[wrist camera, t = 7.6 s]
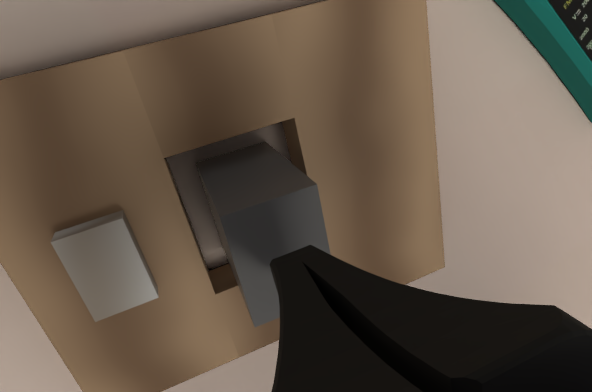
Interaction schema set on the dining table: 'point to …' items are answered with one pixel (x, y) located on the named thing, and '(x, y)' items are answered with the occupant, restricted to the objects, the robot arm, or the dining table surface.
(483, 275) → the dining table surface
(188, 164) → the dining table surface
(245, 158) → the grey block
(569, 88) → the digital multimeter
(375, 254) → the socket board
